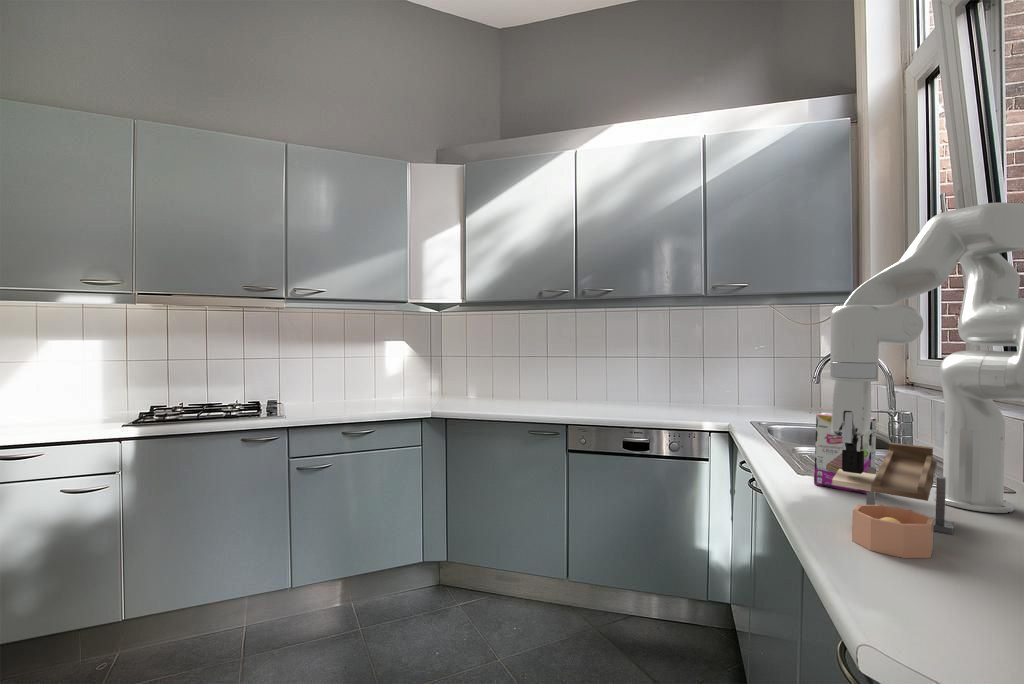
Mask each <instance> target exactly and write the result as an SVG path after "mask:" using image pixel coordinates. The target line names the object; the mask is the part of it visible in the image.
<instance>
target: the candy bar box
mask: <svg viewBox="0 0 1024 684" xmlns="http://www.w3.org/2000/svg"><path fill="white" fill-rule="evenodd" d="M815 417H816V419H815V426H816V427H815V444H814V445H815V446H814V447H815V448H814V449H815V450H814V470H813V471H814V472H813V473H814V475H813V480H814V481H813V485H816V486H819V487H820V486H821V487H822V486H823V487H827V488H832V489H836V490H842V491H849V492H854V493H858V494H864V495H867V491H866V490H860V489H854V488H848V487H842V486H836V485H832V479H833V478H834V476H835V474H836V473H837V471H838V470H839V469H842V450H843V439H842V431H840V432H839V433H837V434H834V433H832V431H831V424H832V412H819V413H817V414H816V416H815ZM876 447H877V418H875V417H871V423H870V429H869V431H868V432H867V433H865V434H864V447H863V450H861V451H864V473H867V468H868V467H876Z"/></svg>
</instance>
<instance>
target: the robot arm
mask: <svg viewBox="0 0 1024 684" xmlns="http://www.w3.org/2000/svg"><path fill="white" fill-rule="evenodd" d="M1018 251H1024V202H1023V203H1020V202H988V203H982V204H977V205H973V206H967V207H962V208H958V209H957V208H956V209H950V210H947V211H943V212H940V213H937V214H936V215H934V216H932V217H931V218H930V219H929V220H927V222H926V223H925V224H924V226H923V227H922V228H921V230H920V231H919V233H918V234H917V235H916V237H915V238H914V239H913V241H912V243H910V245H909V247H908V248H907V249H906V251H905V252H904V253H903V255H902V256H901V258H900V259H899V260H898V261H897V262H895V263H894V264H891V265H890V266H888V267H886V268H885V269H883V270H882V271H880V272H879V273H877V274H876V275H874V276H873V277H871V278H869V279H868V280H866V281H865V282H864V283H862V284H860V286H858V287H857V288H856V289H855V290H854V291H852V293H851V294H850V295H849V297H848V298H847V299H846V301H845V302H844V303H843V305H837V306H835V307H834V308H833V309H832V310H831V313H830V365H829V370H830V371H829V372H830V373H829V375H830V376H829V379H830V380H831V381H834V384H833V386H834V387H833V393H832V407H831V408H832V412H831V413H832V424H831V431H832V433H834V434H837V433H839V432H840V431H842V439H843V450H842V470H843V471H844V472H850V473H857V474H861V473H863V472H864V451H861V450H863V447H864V434H865V433H867V432H868V431H869V429H870V423H871V418H872V383H873V382H879V361H880V360H879V359H880V356H879V354H880V353H879V352H880V351H879V348H880V346H900V345H906V344H909V343H912V342H914V341H915V340H916V339H918V338H919V337H920V336H921V334H922V332H923V330H924V319H923V316H922V315H921V313H920V312H919V311H918V310H917V309H916V308H914V307H912V306H910V305H907V304H899V302H901V301H904V300H908V299H910V298H914V297H917V296H920V295H922V294H925V293H928V292H930V291H932V290H934V289H937V288H938V287H941V286H942V285H943V284H944V283H945V282H946V281H947V279H948V278H949V276H950V274H952V272H953V271H954V269H955V268H956V266H957V265H958V263H959V264H960V265H961V267H962V269H963V273H964V274H965V286H964V292H963V299H962V303H961V308H960V313H959V318H958V327H957V329H958V330H957V331H958V336H959V337H960V339H961V340H962V341H963V342H965V343H967V344H970V345H975V346H983V347H984V346H985V347H986V346H987V347H988V346H989V347H1017V351H1013V350H1011V351H1009V350H1007V351H1004V350H978V349H977V350H974V349H971V350H960V351H959V350H958V351H956V352H953V353H951V354H949V355H947V356H945V357H944V358H943V360H942V361H941V363H940V365H939V379H940V383H941V389H942V392H943V393H942V394H943V403H944V426H943V429H944V432H943V433H944V434H943V464H942V465H943V470H942V471H943V473H942V477H946V493H945V505H947V506H951V507H954V508H959V509H963V510H969V511H974V512H981V513H993V514H1008V512H1009V513H1012V512H1014V510H1015V509H1014V504H1013V503H1011V502H1010V501H1007V500H1005V499H1004V492H1005V491H1004V488H1005V487H1004V485H1005V484H1004V482H1005V448H1006V447H1005V445H1006V444H1005V443H1006V442H1005V441H1006V439H1005V438H1006V421H1005V417H1004V415H1003V412H1002V411H1001V410H1000V408H999V407H998V406H997V404H996V403H995V401H994V400H1004V401H1014V402H1024V297H1019V293H1020V292H1019V291H1020V284H1021V277H1020V274H1019V272H1018V271H1017V270H1016V268H1015V267H1014V266H1013V265H1012V264H1011V263H1010V262H1009V261H1008V260H1007V259H1006V258H1004V257H1003V255H1001V254H1002V253H1008V252H1009V253H1010V252H1018ZM897 303H898V304H897ZM879 345H880V346H879ZM932 495H933V499H934V500H935V501H936V491H934V492H933V494H932Z"/></svg>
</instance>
